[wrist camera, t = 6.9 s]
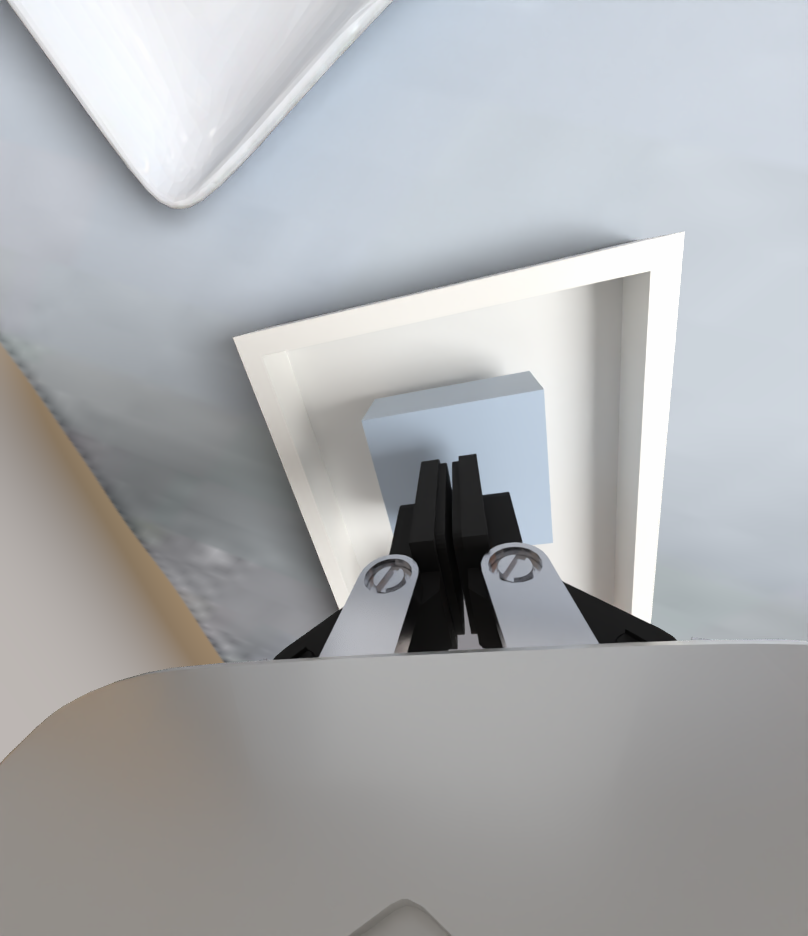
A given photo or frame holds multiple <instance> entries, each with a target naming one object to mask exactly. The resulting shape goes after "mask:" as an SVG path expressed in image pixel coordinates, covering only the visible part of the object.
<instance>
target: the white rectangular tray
mask: <svg viewBox="0 0 808 936" xmlns="http://www.w3.org/2000/svg"><path fill="white" fill-rule="evenodd" d="M684 233H685V232H679V233H674V234H668V235H663V236H658V237H652V238H647V239H641V240H636V241H632V242H628V243H623V244H619V245H615V246H611V247H606V248H602V249H598V250H594V251H589V252H585V253H581V254H577V255H572V256H568V257H564V258H560V259H555V260H551V261H547V262H543V263H538V264H534V265H530V266H526V267H521V268H517V269H513V270H509V271H504V272H500V273H496V274H492V275H487V276H483V277H479V278H475V279H470V280H466V281H462V282H458V283H453V284H449V285H445V286H441V287H436V288H432V289H428V290H424V291H419V292H415V293H411V294H407V295H402V296H398V297H394V298H390V299H385V300H381V301H377V302H373V303H369V304H364V305H360V306H356V307H352V308H347V309H343V310H339V311H335V312H330V313H326V314H322V315H318V316H313V317H309V318H305V319H301V320H296V321H292V322H288V323H284V324H279V325H275V326H271V327H267V328H264V329H260V330H257V331H253V332H250V333H246V334H243V335H239V336H236V337H233V339H234V342H235V344H236V347H237V350H238V352H239V355H240V357H241V360H242V362H243V365H244V367H245V370H246V373H247V375H248V378H249V380H250V383H251V385H252V388H253V390H254V393H255V396H256V398H257V401H258V403H259V406H260V408H261V411H262V413H263V416H264V419H265V421H266V424H267V426H268V429H269V431H270V434H271V436H272V439H273V441H274V444H275V447H276V449H277V452H278V454H279V457H280V459H281V462H282V464H283V467H284V470H285V472H286V475H287V477H288V480H289V482H290V485H291V487H292V490H293V493H294V495H295V498H296V500H297V503H298V505H299V508H300V510H301V513H302V516H303V518H304V521H305V523H306V526H307V528H308V531H309V533H310V536H311V539H312V541H313V544H314V546H315V549H316V551H317V554H318V556H319V559H320V562H321V564H322V567H323V569H324V572H325V574H326V577H327V579H328V582H329V584H330V587H331V590H332V592H333V595H334V597H335V600H336V602H337V605H338V607H339V610H340V609H341V608H342V607H344V605H345V603H346V601H347V599H348V597H349V595H350V593H351V591H352V589H353V587H354V585H355V583H356V581H357V579H358V577H359V575H360V573H361V572H362V570H363V569H364V568H365V567H366V566H367V565H368V564H369V563H371V562H372V561H374V560H376V559H378V558H380V557H383V556H387V555H389V553H390V548H391V544H392V539H393V533H392V529H391V526H390V522H389V518H388V515H387V511H386V508H385V504H384V500H383V497H382V493H381V490H380V486H379V482H378V479H377V475H376V472H375V468H374V464H373V461H372V457H371V454H370V450H369V446H368V443H367V439H366V436H365V432H364V428H363V425H362V419H363V417H364V416H365V414H366V413H367V411H368V409H369V408H370V406H371V405H372V403H373V402H374V400H375V399H378V398H383V397H389V396H394V395H400V394H405V393H411V392H416V391H421V390H427V389H432V388H438V387H443V386H449V385H454V384H460V383H465V382H471V381H476V380H482V379H487V378H493V377H498V376H504V375H509V374H515V373H520V372H525V371H530V372H531V373H532V375H533V376H534V377H535V379H536V380H537V381H538V382H539V384H540V385H541V386H542V387H543V389H544V398H545V415H546V432H547V450H548V467H549V484H550V501H551V518H552V535H553V543H548V544H538V545H533V546H535V547H537V548H539V549H540V550H542V551H543V552H544V553H545V554H546V555H547V556H548V558H549V560H550V561H551V563H552V565H553V566H554V568H555V570H556V571H557V573H558V575H559V576H560V578H561V580H562V581H563V582H565V583H567V584H569V585H571V586H573V587H576V588H578V589H580V590H582V591H584V592H586V593H588V594H590V595H592V596H594V597H596V598H598V599H600V600H602V601H604V602H606V603H609V604H611V605H613V606H615V607H617V608H619V609H621V610H623V611H625V612H627V613H629V614H631V615H633V616H635V617H637V618H640V619H642V620H644V621H646V622H648V623H650V624H651V614H652V602H653V591H654V579H655V568H656V556H657V545H658V533H659V522H660V510H661V499H662V487H663V476H664V464H665V453H666V441H667V429H668V418H669V406H670V395H671V383H672V372H673V360H674V349H675V337H676V326H677V314H678V303H679V291H680V280H681V268H682V256H683V245H684Z"/></svg>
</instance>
